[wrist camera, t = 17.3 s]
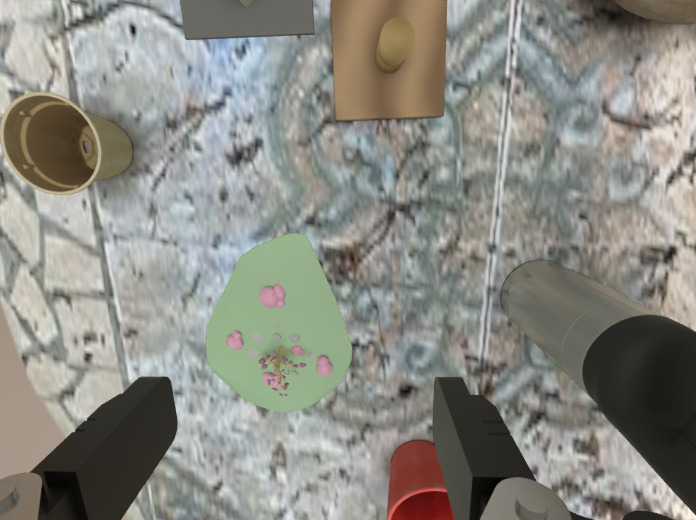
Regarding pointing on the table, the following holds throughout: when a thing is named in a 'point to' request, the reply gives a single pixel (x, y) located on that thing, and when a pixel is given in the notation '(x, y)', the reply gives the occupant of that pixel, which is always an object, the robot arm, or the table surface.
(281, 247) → the plant
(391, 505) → the flower pot
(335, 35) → the peg stand
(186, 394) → the table surface
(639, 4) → the ceramic bowl
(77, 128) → the flower pot
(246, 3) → the sage green tall block
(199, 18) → the mat
